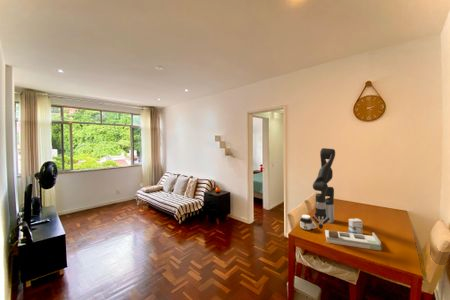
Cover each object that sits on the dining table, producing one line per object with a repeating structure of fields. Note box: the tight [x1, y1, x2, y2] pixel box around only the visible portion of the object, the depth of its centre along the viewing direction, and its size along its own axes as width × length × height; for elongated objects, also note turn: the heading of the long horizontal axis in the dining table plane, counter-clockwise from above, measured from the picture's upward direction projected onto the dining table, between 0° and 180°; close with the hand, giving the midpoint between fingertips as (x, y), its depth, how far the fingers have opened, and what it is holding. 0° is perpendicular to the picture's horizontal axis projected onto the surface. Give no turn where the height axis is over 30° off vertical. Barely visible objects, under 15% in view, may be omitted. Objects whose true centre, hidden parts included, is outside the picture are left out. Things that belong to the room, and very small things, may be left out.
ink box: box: [348, 217, 363, 235], centre depth 160 cm, size 9×5×12 cm, turn 92°
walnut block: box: [328, 229, 339, 238], centre depth 151 cm, size 6×6×4 cm
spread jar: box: [299, 214, 317, 231], centre depth 173 cm, size 12×11×12 cm
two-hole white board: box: [324, 229, 382, 251], centre depth 150 cm, size 16×34×6 cm, turn 67°
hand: (320, 228), depth 154 cm, fingers closed
